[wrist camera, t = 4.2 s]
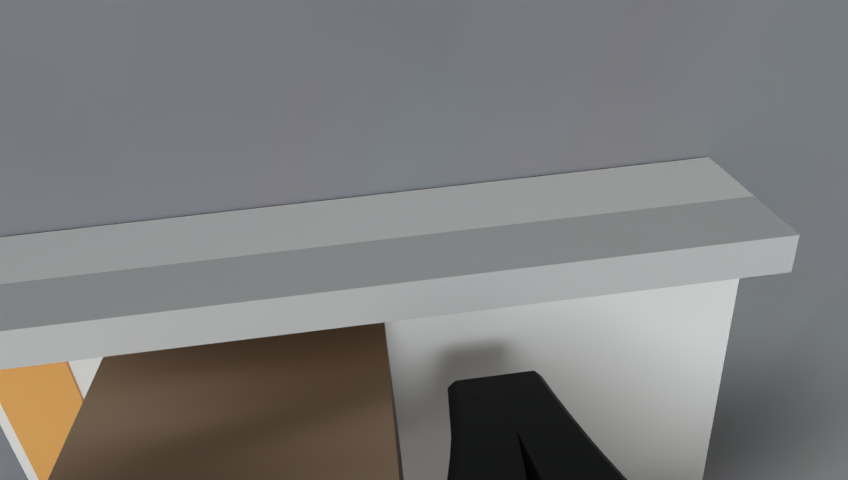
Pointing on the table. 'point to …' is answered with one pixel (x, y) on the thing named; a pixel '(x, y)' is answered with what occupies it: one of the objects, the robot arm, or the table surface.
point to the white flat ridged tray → (420, 301)
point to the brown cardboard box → (241, 412)
